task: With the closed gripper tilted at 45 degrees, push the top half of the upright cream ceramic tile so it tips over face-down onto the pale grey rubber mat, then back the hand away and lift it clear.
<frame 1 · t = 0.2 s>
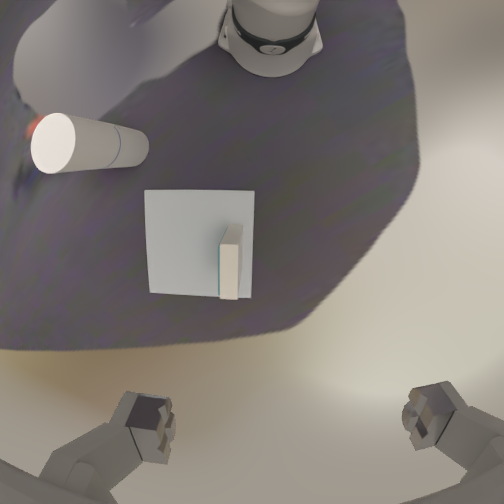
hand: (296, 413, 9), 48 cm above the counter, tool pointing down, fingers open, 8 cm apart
mat: (198, 243, 57), on the counter
tile: (235, 246, 56), point 1 cm above the counter, touching mat
cylindrical container: (132, 148, 52), on the counter
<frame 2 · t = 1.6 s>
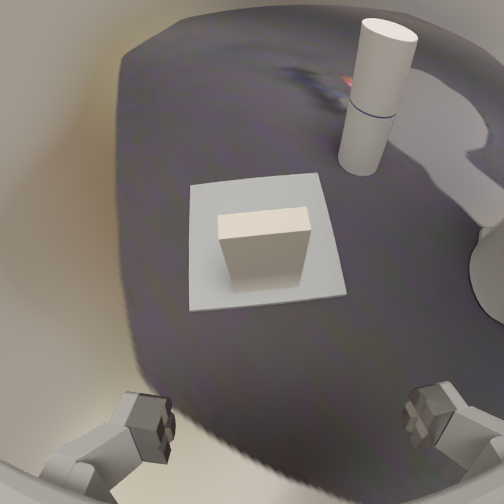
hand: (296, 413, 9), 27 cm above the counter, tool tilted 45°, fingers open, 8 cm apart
mat: (260, 236, 43), on the counter
tile: (266, 281, 40), point 1 cm above the counter, touching mat
cylindrical container: (357, 161, 49), on the counter
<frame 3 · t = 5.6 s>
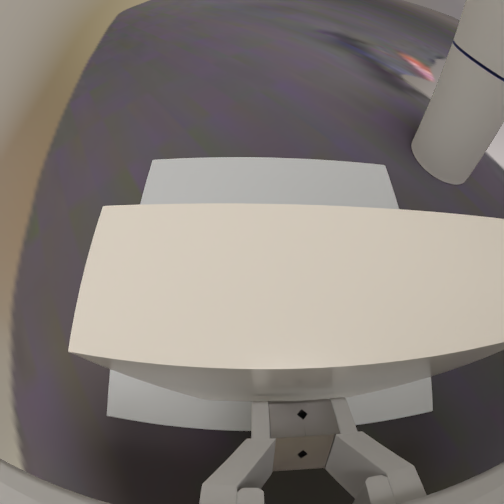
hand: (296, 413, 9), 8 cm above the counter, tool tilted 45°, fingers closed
mat: (274, 274, 20), on the counter
tile: (276, 380, 16), point 1 cm above the counter, touching gripper, mat
cylindrical container: (439, 159, 27), on the counter
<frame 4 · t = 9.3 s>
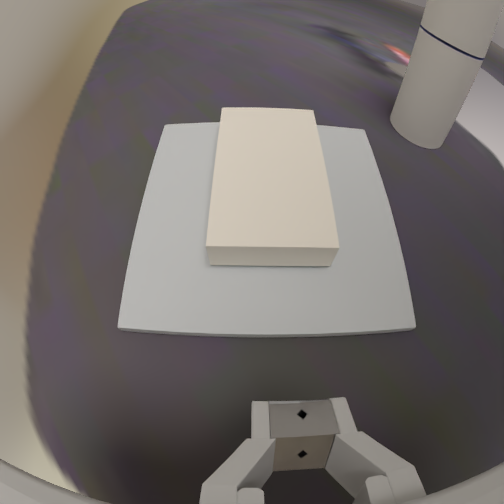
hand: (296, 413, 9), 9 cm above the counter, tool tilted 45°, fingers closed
mat: (268, 208, 24), on the counter
tile: (272, 256, 19), point 2 cm above the counter, tilted 90°, touching mat
cylindrical container: (416, 129, 31), on the counter
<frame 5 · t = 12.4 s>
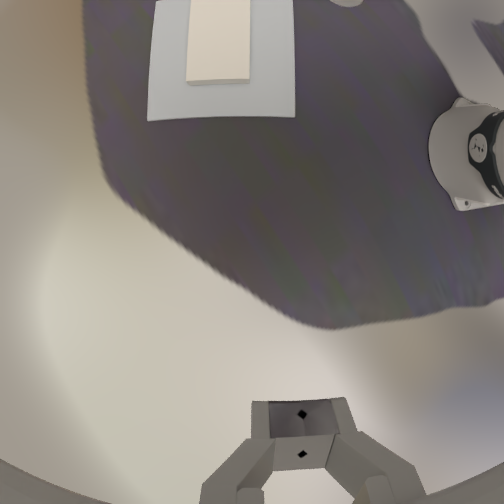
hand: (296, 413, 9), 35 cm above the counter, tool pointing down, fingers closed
mat: (221, 51, 36), on the counter
tile: (218, 81, 35), point 2 cm above the counter, tilted 90°, touching mat
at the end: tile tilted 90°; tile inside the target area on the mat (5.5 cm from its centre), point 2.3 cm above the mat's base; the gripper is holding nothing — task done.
